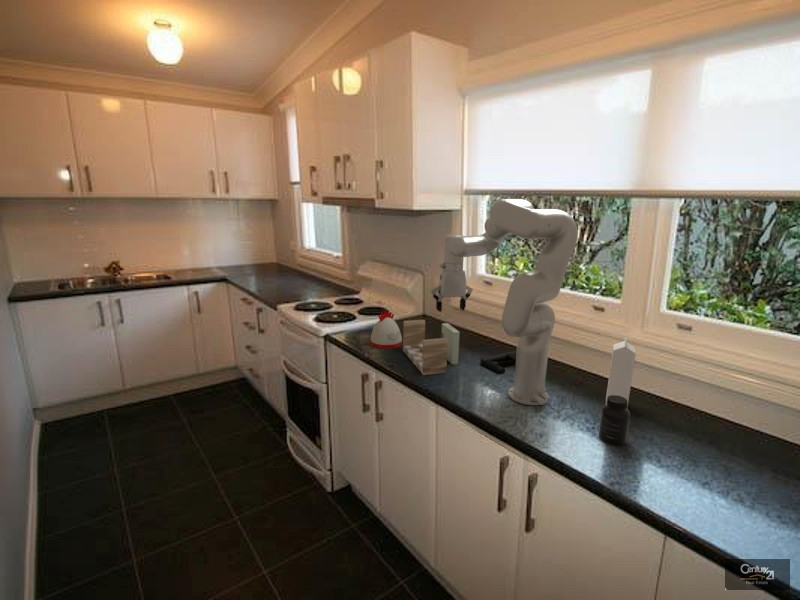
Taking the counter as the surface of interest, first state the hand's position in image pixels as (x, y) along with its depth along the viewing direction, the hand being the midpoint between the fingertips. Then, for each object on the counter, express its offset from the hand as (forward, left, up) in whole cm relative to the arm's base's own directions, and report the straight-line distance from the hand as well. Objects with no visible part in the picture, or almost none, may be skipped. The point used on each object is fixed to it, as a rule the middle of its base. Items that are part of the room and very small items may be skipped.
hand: (450, 310), depth 166 cm
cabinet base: (0, +11, -20) cm, 23 cm away
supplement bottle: (-66, -20, -20) cm, 72 cm away
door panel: (0, 0, -20) cm, 20 cm away
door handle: (-13, -20, -21) cm, 32 cm away
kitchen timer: (+24, +20, -20) cm, 37 cm away
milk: (-50, -36, -20) cm, 65 cm away
